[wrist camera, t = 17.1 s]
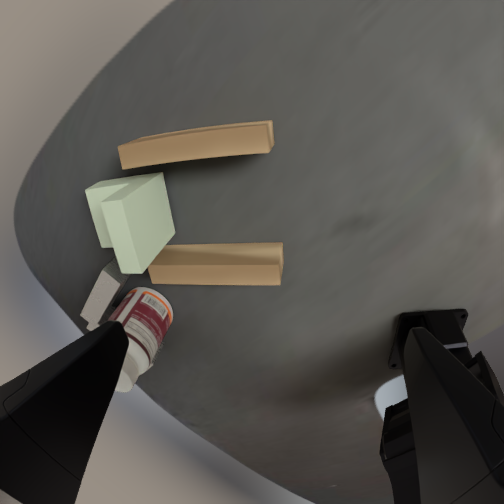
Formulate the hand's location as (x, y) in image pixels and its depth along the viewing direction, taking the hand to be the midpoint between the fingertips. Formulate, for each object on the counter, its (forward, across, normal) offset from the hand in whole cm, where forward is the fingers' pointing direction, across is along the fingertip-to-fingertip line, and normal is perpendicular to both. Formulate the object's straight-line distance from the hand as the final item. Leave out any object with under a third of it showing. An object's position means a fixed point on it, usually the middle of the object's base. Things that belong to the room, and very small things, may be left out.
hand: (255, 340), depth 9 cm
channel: (+13, +5, 0) cm, 14 cm away
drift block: (+13, +11, 0) cm, 17 cm away
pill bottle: (+13, +12, +10) cm, 21 cm away
